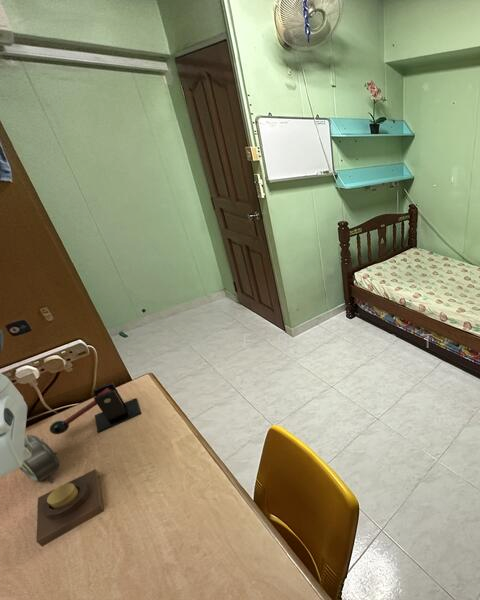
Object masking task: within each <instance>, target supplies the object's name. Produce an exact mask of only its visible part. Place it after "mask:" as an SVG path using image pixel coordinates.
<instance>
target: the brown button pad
mask: <svg viewBox="0 0 480 600" xmlns="http://www.w3.org/2000/svg"><path fill="white" fill-rule="evenodd" d="M68 483H72V484H74V486H75V487H76V488H77V489H78V491H79V493H78V495H77V497H76V498H75V499H74V500H73V501H71V502H70V503H69V504H67V505H65V506H64V507H62V508H58V509H55V508H53V507H52V506H51V505H50V504H49V503H48V502H47V498H48V496H49V495H50V494H51V493H52V492H53V491H54V490H55V489H56V488H54V489H53V490H51V491H48V492H46V493H45V494H42V495H41V496H39V497H37V515H36V516H37V517H36V540H35V541H36V543H37V544H38V545H40V546H41V547H44V546H46V545H48V544H49V543H50V542H52V541H55V540H56V539H58V538H60V537H61V536H63V535H65V534H67V533H68V532H70V531H72V530H74V529H76V528H77V527H79V526H81V525H83V524H84V523H86V522H88V521H89V520H91V519H94V517H97V516H98V515H101V513H104V511H105V508H104V507H105V506H104V500H103V499H104V498H103V493H102V492H103V491H102V484H101V477H100V474H99V472H98V471H97V469H96V468H94V469H92V470H90V471H89V472H86V473H84V474H83V475H80V476H78V477H77V478H74V479H72V480H70V481H68V482H67V483H65V484H68Z"/></svg>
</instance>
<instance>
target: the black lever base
mask: <svg viewBox="0 0 480 600" xmlns="http://www.w3.org/2000/svg"><path fill="white" fill-rule="evenodd" d="M107 387H108V388H109V389H111V391H109V392H106V393H104V394H101V395H99V396H97V394H99V393H100V392H101V391H103V390H104V389H106V388H107ZM92 393H93V394H94V395H95V396H94V397H93V401H94V400H95V401H96V403H97V405H96V406H98V408H99V409H100V411H101V412H99V413H98V414H95V415H94V418H95V425H96V426H95V427H96V432H97V434H101V433H102V432H105V431H107V430H109V429H111V428H114V427H116V426H118V425H120V424H122V423H125V422H127V421H129V420H132V419H134V418H136V417H138V416H140V415H142V411H141V407H140V405H139V401H138V398H137V397H135V398H131V399H130V400H127V401H126V402H125V401H124V399H123V398H122V396H121V394H120V393H119V391H118V389H117V387H116V386H115V384H114V382H109V383H107V384H104V385H102V386H99V387H96V388H93V389H92Z"/></svg>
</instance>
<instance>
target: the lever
mask: <svg viewBox="0 0 480 600" xmlns="http://www.w3.org/2000/svg"><path fill="white" fill-rule="evenodd" d="M109 391H111V389H109V388H108V387H107V388H106V389H104V390H103V391H101V392H100V393H99V394H97V396H99V395H101V394H104V393H106V392H109ZM96 406H98V405H97V403H96V401H95V400H94V399H93V400H92V401H91V402H90V403H88V404H86V405H85V406H84V407H82V408H81V409H79V410H78V411H76V412H75V413H74V414H72V415H71V416H69V417H68V418H66V419H60V420H56V421H54V422H53V423H52V424H51V425H50V426H49V432H50V433H51V434H52V435H61V434H64V433H65V432H66V431H68V429H69V428H70V424H71V423H72V422H74V421H75V420H78V418H79V417H82V416H83V415H84V414H85V413H87V412H88V411H90V410H91V409H92V408H94V407H96Z"/></svg>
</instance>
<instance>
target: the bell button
mask: <svg viewBox="0 0 480 600" xmlns="http://www.w3.org/2000/svg"><path fill="white" fill-rule="evenodd" d="M67 483H68V482H67ZM54 489H55V490H54ZM54 489H53V490H54V491H53V492H52V493H51V494H50V495H49V496H48V498H47V502H48V503H49V504H50V505H51V506H52V507H53V508H55V509H58V508H62V507H64V506H65V505H67V504H69V503H70V502H71V501H73V500H74V499H75V498H76V497H77V495H78V493H79V491H78V489H77V488H76V487H75V486H74V484H72V483H68V484H66V483H64V484H62V485H60V486H58V487H56V488H54Z"/></svg>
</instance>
